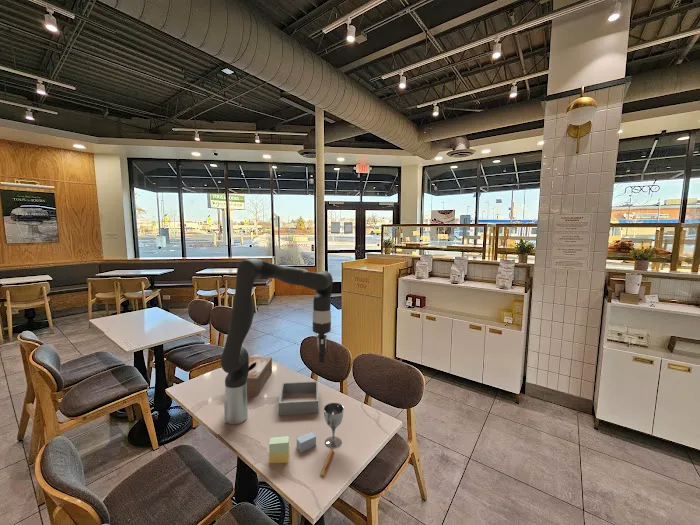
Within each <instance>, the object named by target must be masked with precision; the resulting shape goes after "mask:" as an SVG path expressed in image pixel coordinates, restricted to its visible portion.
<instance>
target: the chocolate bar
mask: <svg viewBox="0 0 700 525" xmlns="http://www.w3.org/2000/svg"><path fill="white" fill-rule="evenodd" d="M335 453H336V452H335V449H331V448H330V450H329V453H328V455H327V457H326V460H325V462H324V464H323V467H322V469H321V471H320V474H319V476H320V477H324V478H326V475H327V472H328V470H329V468H330V465H331V463H332V460H333V458H334V456H335Z"/></svg>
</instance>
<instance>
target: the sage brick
mask: <svg viewBox="0 0 700 525" xmlns="http://www.w3.org/2000/svg"><path fill="white" fill-rule="evenodd" d="M268 444H269V445H268V447H269V448H268V455H269V454H276V453H287V452H289V453H290V437H289V436H288V435H287V436H276V437H275V436H274V437H269V443H268Z"/></svg>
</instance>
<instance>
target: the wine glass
mask: <svg viewBox="0 0 700 525" xmlns="http://www.w3.org/2000/svg"><path fill="white" fill-rule="evenodd" d="M344 413H345V412H344V406H343V405H342V404H341V403H339V402H329V403H327V404H326V405H324V407H323V418H324V420H325V421H324V422H325V423H326V425H327V426H328V427H329V428H330V429H331V432H332V436H329V437H327V438H326V439H325V440H324V445H325V446H326V447H327V448H328V449H330V450H331V449H333V450H335V449H338V448H340V447H341V446H342V444H343V441H342V439H341V438H340V437H339V436H335V433H336V430H337V428H338V427H339V426H340V425H341V424H342V422H343V418H344Z"/></svg>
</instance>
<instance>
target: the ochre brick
mask: <svg viewBox="0 0 700 525" xmlns="http://www.w3.org/2000/svg"><path fill="white" fill-rule="evenodd" d="M289 460H290V451H289V452H287V453H276V454H269V453H268V463H269V464H287V463H289Z"/></svg>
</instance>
